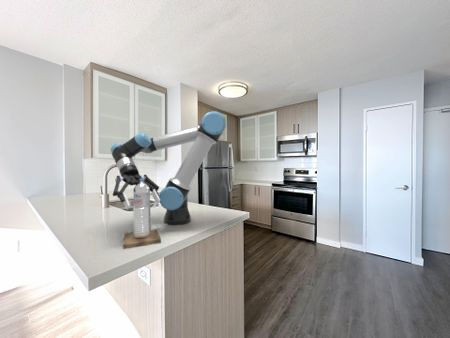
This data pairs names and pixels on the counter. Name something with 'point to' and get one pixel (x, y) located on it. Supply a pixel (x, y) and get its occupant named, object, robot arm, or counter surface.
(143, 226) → the water bottle
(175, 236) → the counter surface
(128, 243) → the walnut board
